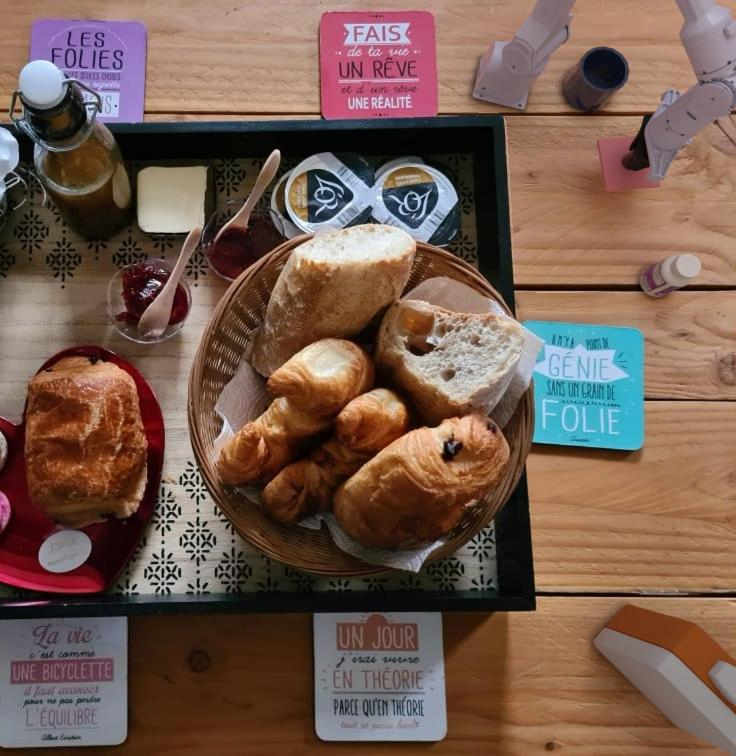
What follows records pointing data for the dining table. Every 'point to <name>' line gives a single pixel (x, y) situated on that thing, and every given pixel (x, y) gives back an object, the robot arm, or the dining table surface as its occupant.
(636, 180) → the pink square knobbed lid
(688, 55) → the robot arm
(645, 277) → the pill bottle
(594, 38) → the dining table surface
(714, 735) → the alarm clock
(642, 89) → the dining table surface
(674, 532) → the dining table surface
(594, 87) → the dark faceted cylinder
